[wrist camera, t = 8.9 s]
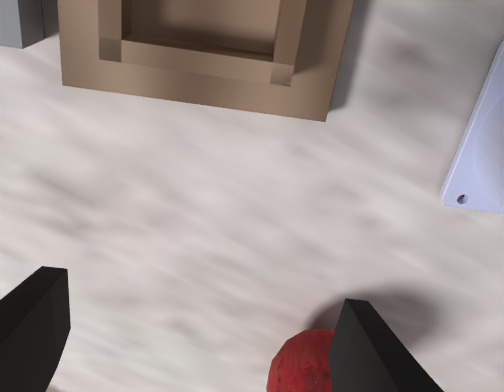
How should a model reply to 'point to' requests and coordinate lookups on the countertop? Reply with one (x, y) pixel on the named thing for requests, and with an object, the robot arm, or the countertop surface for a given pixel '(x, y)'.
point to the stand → (21, 23)
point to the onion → (302, 363)
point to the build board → (208, 51)
